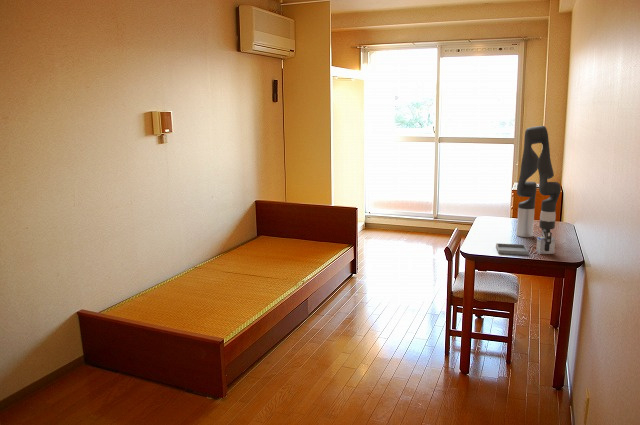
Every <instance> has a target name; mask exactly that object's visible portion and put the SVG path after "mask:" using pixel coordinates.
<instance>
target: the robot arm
mask: <svg viewBox="0 0 640 425" xmlns="http://www.w3.org/2000/svg"><path fill="white" fill-rule="evenodd" d="M523 140H524V142H523V151H522V152H523V153H522V157H521V162H520V163H521V164H520V172H519V177H518V182H517V186H516V194H517V196H518V197H521V198H525V197H526V198H528V199H526V200H524V201H520V202H518V206H517V207H518V208H517V220H516V222H517V224H516V236H518V237H522V238H532V237H533V234H534V221H535V208H536V196H537V190H538V192H539V193H540V195H542V196H549V197H548V198H545V199H543V200H542V201H541V208H540V215H539V226H538V227H539V228H540V229H541V235H540V237H544V240H545V251H549V246H550V244H551V237H552V234H553V233H552V232H551V230H554V229H555V227H556V216H557V214H556V208H557V202H558V199H559V197H560V195H561V190H562V188H561V184H560V183H559V182H557V181H548V180H549V179H552V178H554V175H555V172H554V170H553V165H552V159H551V151H550V150H551V149H550V142H549V140H550V139H549V133H548V129H547V127H546V126H545V125H537V126H536V125H535V126H532V127H531V126H530V127H527V128H526V129H525V132H524V139H523ZM536 144H541V146H542V148H541V152H540V155H539V156H538V154H537V153H536V152H535V150H534V149H533V147H532V146H533V145H536ZM537 172H538V175H539V182H538V187H537V183H536V181H527V180H528V179H529V178H530V177H532V176H533V175H534V174H535V173H537ZM537 188H538V189H537ZM547 240H548V241H549V242H547Z"/></svg>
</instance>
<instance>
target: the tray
mask: <svg viewBox="0 0 640 425" xmlns="http://www.w3.org/2000/svg"><path fill="white" fill-rule="evenodd" d="M495 248H496V251H497V254H498V255H507V256H508V255H509V256H527V257H529V254H530V253H529V250H528V248H527V246H526V245H525V244H521V243H519V244H517V243H497V242H496V243H495Z"/></svg>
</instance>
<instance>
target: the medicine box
mask: <svg viewBox="0 0 640 425" xmlns="http://www.w3.org/2000/svg"><path fill="white" fill-rule="evenodd" d="M547 242H549V241H548V240H547ZM555 244H556V238H555V237H553V236H551V244H550V246H549V251H545V240H544V237H541V236H537V237H536V249H535V250H536V251H535V252H536V253H537V254H538V255H552V254H555V247H556V246H555Z"/></svg>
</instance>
